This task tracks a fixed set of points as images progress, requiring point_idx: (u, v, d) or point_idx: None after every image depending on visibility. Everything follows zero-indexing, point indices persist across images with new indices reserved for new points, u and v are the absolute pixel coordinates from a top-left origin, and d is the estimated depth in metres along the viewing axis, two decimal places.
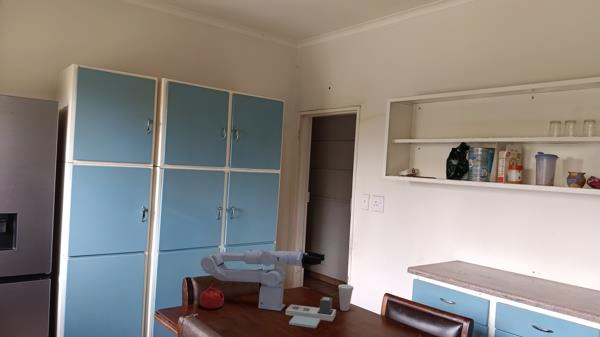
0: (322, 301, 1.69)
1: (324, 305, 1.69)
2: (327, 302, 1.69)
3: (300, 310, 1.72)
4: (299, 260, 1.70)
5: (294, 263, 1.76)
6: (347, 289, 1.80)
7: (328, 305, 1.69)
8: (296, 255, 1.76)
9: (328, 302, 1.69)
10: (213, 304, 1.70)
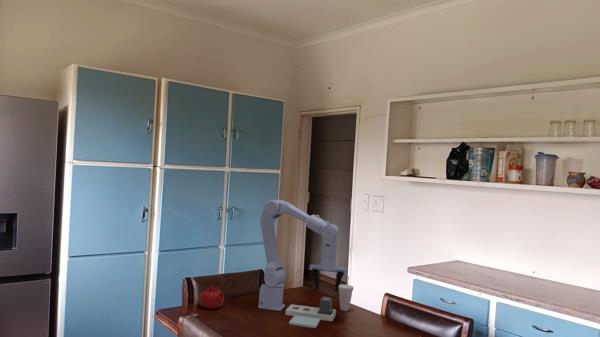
0: (322, 301, 1.69)
1: (324, 305, 1.69)
2: (327, 302, 1.69)
3: (300, 310, 1.72)
4: None
5: None
6: (347, 289, 1.80)
7: (328, 305, 1.69)
8: (322, 263, 1.71)
9: (328, 302, 1.69)
10: (213, 304, 1.70)
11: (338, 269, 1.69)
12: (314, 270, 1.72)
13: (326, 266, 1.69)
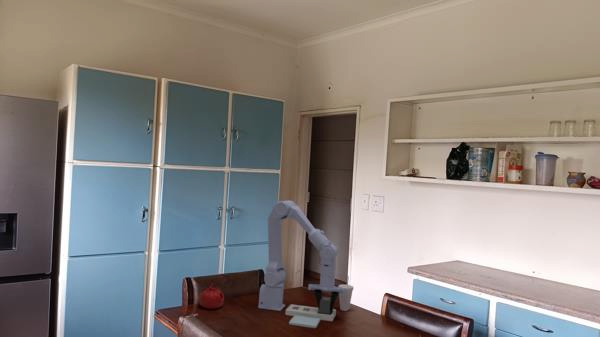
0: (322, 301, 1.69)
1: (324, 305, 1.69)
2: (327, 302, 1.69)
3: (300, 310, 1.72)
4: None
5: None
6: (347, 289, 1.80)
7: (328, 305, 1.69)
8: (320, 284, 1.71)
9: (328, 302, 1.69)
10: (213, 304, 1.70)
11: (337, 289, 1.69)
12: None
13: (325, 286, 1.69)
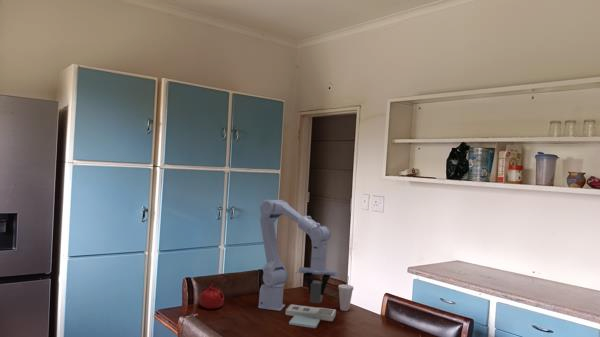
0: (313, 284, 1.65)
1: (315, 288, 1.65)
2: (318, 286, 1.65)
3: (300, 310, 1.72)
4: (299, 271, 1.68)
5: None
6: (347, 289, 1.80)
7: (319, 288, 1.65)
8: (311, 266, 1.66)
9: (319, 285, 1.65)
10: (213, 304, 1.70)
11: (328, 272, 1.65)
12: None
13: (316, 269, 1.65)
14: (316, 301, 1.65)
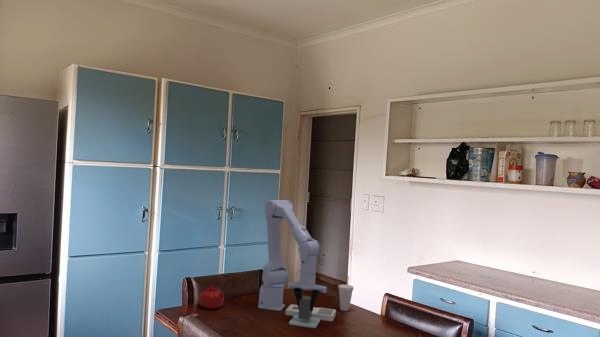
0: (302, 300, 1.61)
1: (304, 304, 1.61)
2: (307, 302, 1.61)
3: None
4: None
5: None
6: (347, 289, 1.80)
7: (308, 304, 1.60)
8: (300, 282, 1.62)
9: (308, 301, 1.60)
10: (213, 304, 1.70)
11: (317, 288, 1.61)
12: None
13: (304, 285, 1.61)
14: (305, 317, 1.60)
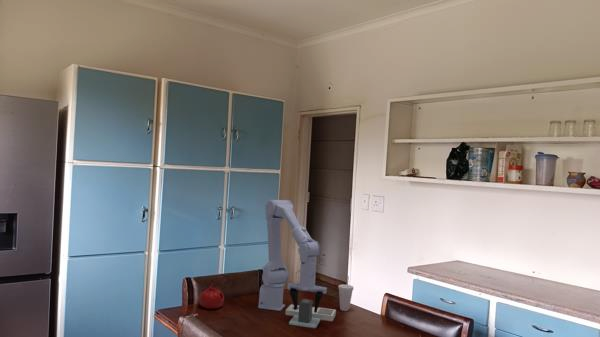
0: (301, 304, 1.61)
1: (304, 308, 1.61)
2: (307, 305, 1.60)
3: None
4: None
5: None
6: (347, 289, 1.80)
7: (308, 308, 1.60)
8: (300, 283, 1.62)
9: (308, 305, 1.60)
10: (213, 304, 1.70)
11: (317, 289, 1.61)
12: (292, 289, 1.64)
13: (304, 286, 1.61)
14: (305, 321, 1.60)
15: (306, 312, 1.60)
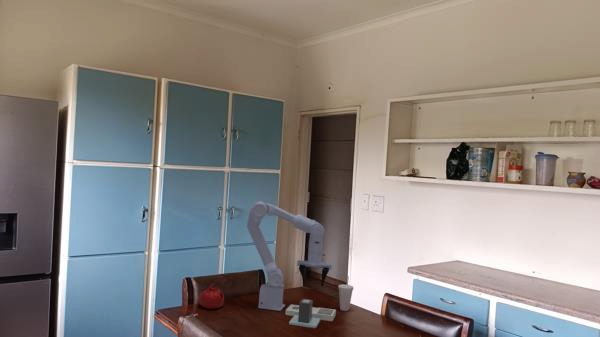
0: (301, 304, 1.61)
1: (304, 308, 1.61)
2: (307, 305, 1.60)
3: None
4: (297, 264, 1.82)
5: None
6: (347, 289, 1.80)
7: (308, 308, 1.60)
8: (308, 260, 1.80)
9: (308, 305, 1.60)
10: (213, 304, 1.70)
11: (324, 265, 1.79)
12: (301, 266, 1.81)
13: (312, 262, 1.78)
14: (305, 321, 1.60)
15: (306, 312, 1.60)
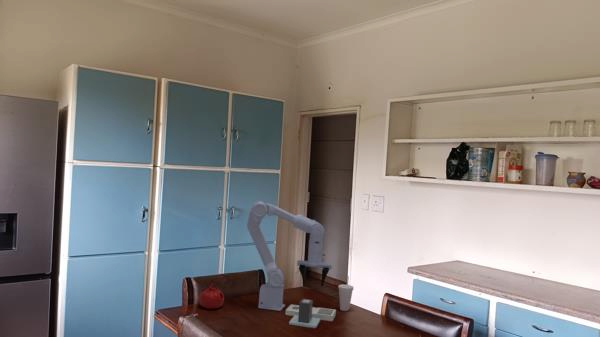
0: (301, 304, 1.61)
1: (304, 308, 1.61)
2: (307, 305, 1.60)
3: None
4: (297, 264, 1.82)
5: None
6: (347, 289, 1.80)
7: (308, 308, 1.60)
8: (308, 259, 1.80)
9: (308, 305, 1.60)
10: (213, 304, 1.70)
11: (324, 265, 1.79)
12: (301, 266, 1.81)
13: (312, 262, 1.79)
14: (305, 321, 1.60)
15: (306, 312, 1.60)
